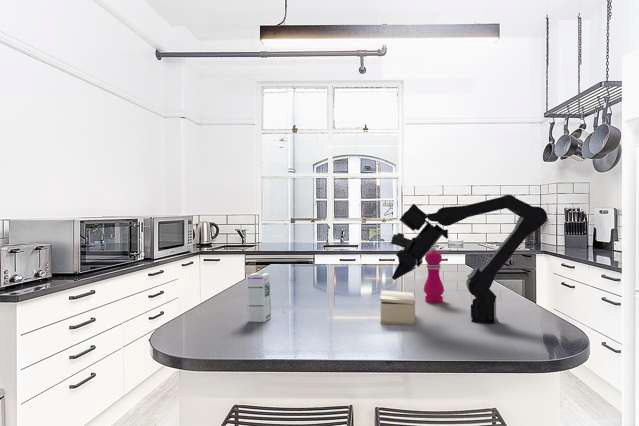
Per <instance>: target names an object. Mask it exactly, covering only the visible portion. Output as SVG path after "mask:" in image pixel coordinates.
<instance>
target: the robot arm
mask: <svg viewBox="0 0 639 426" xmlns="http://www.w3.org/2000/svg"><path fill="white" fill-rule="evenodd" d="M504 209H505V210H506V209H507V210H508V211H510V212H512V213H513V214H515V215H516V216H518V219H517V221H516V223H515V226H514V229H513V230H512V231H511V232H510V233H509V235H508V236H507V237H506V238H505V240H503V242H502V243H501V244H500V246H499V247H498V248H497V250H495V252H494V253H493V254H492V256H491V257H490V258H489V259H488V260H487V262H486V263H485V264H484V265H483V266H481V267H480V268H478V267H477V266H474V267H473V269H472V271H471V272H470V273H469V274H468V275H466V277H467V280H466V282H465V285H466V288H467V290H468V292H469V293H470V294H471V295H472V296H473V297H474V298H473V299H472V303H471V304H470V318H471V320H470V321H471V322H476V323H484V324H495V323H496V322H497V321H498V317H497V300H496V299H497V295H496V294H495V293H494V291H492V290H491V289H490V288H491V286H492V285H493V283H494V280H495V278H496V275H497V274H498V272H499V271H500V270H501V268H503V267H504V266H505V264H506V262H507V261H509V259H510V258H511V256H512V255H513V254H514V253H515V252H516V250H517V249H519V247H520V246H521V245H522V244H523V242H524V241H525V240H526V239H527V237H528V236H530V235H532V234H533V233H535V232H536V231H537V230H538V229H540V228H541V227H542V226H543V225H544V224H546V222H547V219H548V214H547V211H546V210H545V209H544V208H542V207H541V206H534V205H530V204H529V203H526V202H525V201H524V200H520V199H519V198H517V197H515V196H514V195H513V194H504V195H502V196H499V197H495V198H492V199H487V200H482V201H478V202H475V203H470V204H467V205H457V206H454V205H453V206H444V207H440V208H439V209H437V210H436V212H434V213H433V212H432V213H430V212H429V213H428V214H426V212H424V211H423V210H421V208H419V207H418V205H416V204H415V203H412V204H411V206H410V207H409V208H408V209H407V210H406V211H404V213H403V214H402V215H401V217H400V218H399V222H401V223H402V224H404V226H406V227H407V228H409V229H410V230H411V231H413V232H414V231H415V230H416V231H419V230H420V231H419V232H418V234H417V235H416V236H415V237H412V238H411V239H409V238H406V237H405V235H404V233H400V232H397V234H395V233H393V235H392V237H391V241H390V244H392V245H393V246H395V245H396V246H398V247H401V248H403V249H399V251H398V252H397V253H396V254H395V255H396V256H397V259H398V264H397V267H396V268H395V270H394V273H393V274H392V277H391V279H392V280H393V281H395V280H398V279H399V278H401V277H403V276H404V275H406V274H408V273H410V272H412V271H415V270H416V269H417V268H419V267H420V266H421V265H423V259H424V258H425V255H426V254H427V253H428V252H430V251H431V248H432V247H434V245H435V244H436V243H437V242H438V241H439V240H440V238H441V237H444V238H445V239H446V240H447V239H449V229H444V228H442V227H441V226H444V227H449V226H451V225H453V224H456V223H459V222H460V221H463V220H465V219H468V218H470V217H471V218H472V217H474V216H478V215H483V214H486V213H487V214H488V213H491V212H495V211H500V210H504ZM426 219H428V220H426ZM429 221H430V222H429ZM431 222H435V223H436V222H437V224H435V225H433V224H431ZM425 223H426V224H425ZM424 224H425V225H424ZM438 224H439V225H438ZM440 225H441V226H440ZM422 227H423V228H422ZM416 266H417V268H416Z"/></svg>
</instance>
